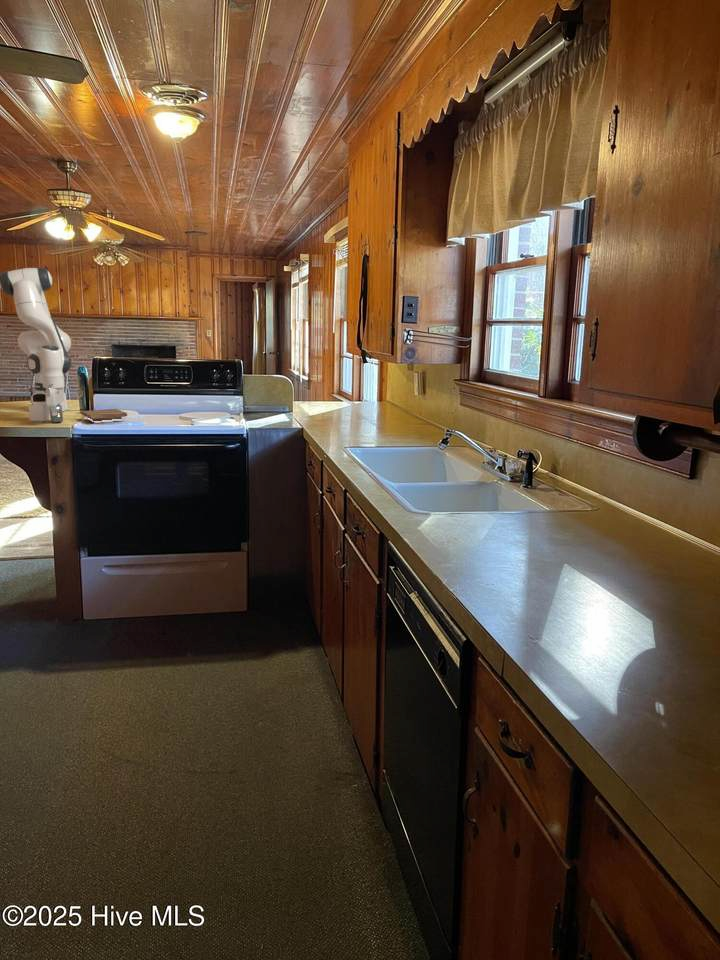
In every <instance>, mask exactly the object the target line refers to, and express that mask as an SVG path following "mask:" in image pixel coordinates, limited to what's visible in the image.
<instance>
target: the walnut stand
mask: <svg viewBox="0 0 720 960" xmlns="http://www.w3.org/2000/svg"><path fill="white" fill-rule="evenodd" d="M80 412H81V413H80V414H81V416H83V417H86V418H90V419H92V420H93V421H102V420H112V419H122V418H124V417H125V418H126V417H128V413H127V412H125V411H122V410H120V409H117V408H110V409H93V410H81V411H80Z"/></svg>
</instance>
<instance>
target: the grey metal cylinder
mask: <svg viewBox="0 0 720 960" xmlns="http://www.w3.org/2000/svg"><path fill="white" fill-rule="evenodd" d="M56 411H57V415H56V416H53V415H52V411H51V407H50V417H51V420H50V422H51V423H63V422H64V418H63V417H64V416H63V414H64V413H63V411H62V405H57V406H56Z"/></svg>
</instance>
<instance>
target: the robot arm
mask: <svg viewBox="0 0 720 960" xmlns="http://www.w3.org/2000/svg"><path fill="white" fill-rule="evenodd" d="M52 286H53V277H52V275H51V273H50V271H49V270H48V269H47V268H46V267H42V266H40V267H39V266H38V267H25V268H20V269H19V268H18V269H13V270H6V271H3V272H1V273H0V289H1V291H2V293H3V294H6V295H8V296H11V297H13V300H14V306H15V311H16V315H17V317H18V319H19V320H20V321H21V322H22V323H23V324H25V325H27V326H30V327H32V328H34V329H36V330H32V329H31V330H26V331H23V332H20V334H19V335H18V336H17V345H18V347H19V349H20V350H21V351H22V352H23V353H25V354H26V355H27V356H28V358H27V368H28V370H29V371H30V372H31V373H32V374H34V378H35V382H34V390H35V391H34V394H45V395H46V405H47V407H51V411H52V415H53V416H56V415H57V411H56V406H57V405H62V412H66V411H70V410H71V407H69V406H68V405H67V404H68V403H67V397H66V393H65V386H66V382H65V381H66V380H65V376H64V375H66V374H68V372H69V371H70V370H71V368H72V359H71V357H70V355H69V353H68V352H69V351H70V350H71V347H72V339H71V337H70V335H69V334H67V333H66V332H64V331H63V330H62V329H61V328H60V327H59V326H58V325H57V324H56V322H55V321H54V320H55V319H53V317H52V316H51V313H50V309H49V306H48V303H47V299H46V296H45V293H46V292H47V291H49V290H50V289H51V288H52ZM29 400H30V403H31V405H33V403H32V397H30V399H29Z"/></svg>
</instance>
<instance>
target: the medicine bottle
mask: <svg viewBox="0 0 720 960" xmlns="http://www.w3.org/2000/svg"><path fill="white" fill-rule="evenodd" d="M31 398H32V403H33V405H32V403H31V405H28V414H29V415H28V416H29V421H30V422H42V421H45V422H47V421H51V417H50V407H47V405H46V395H45V394H32V395H31Z"/></svg>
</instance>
